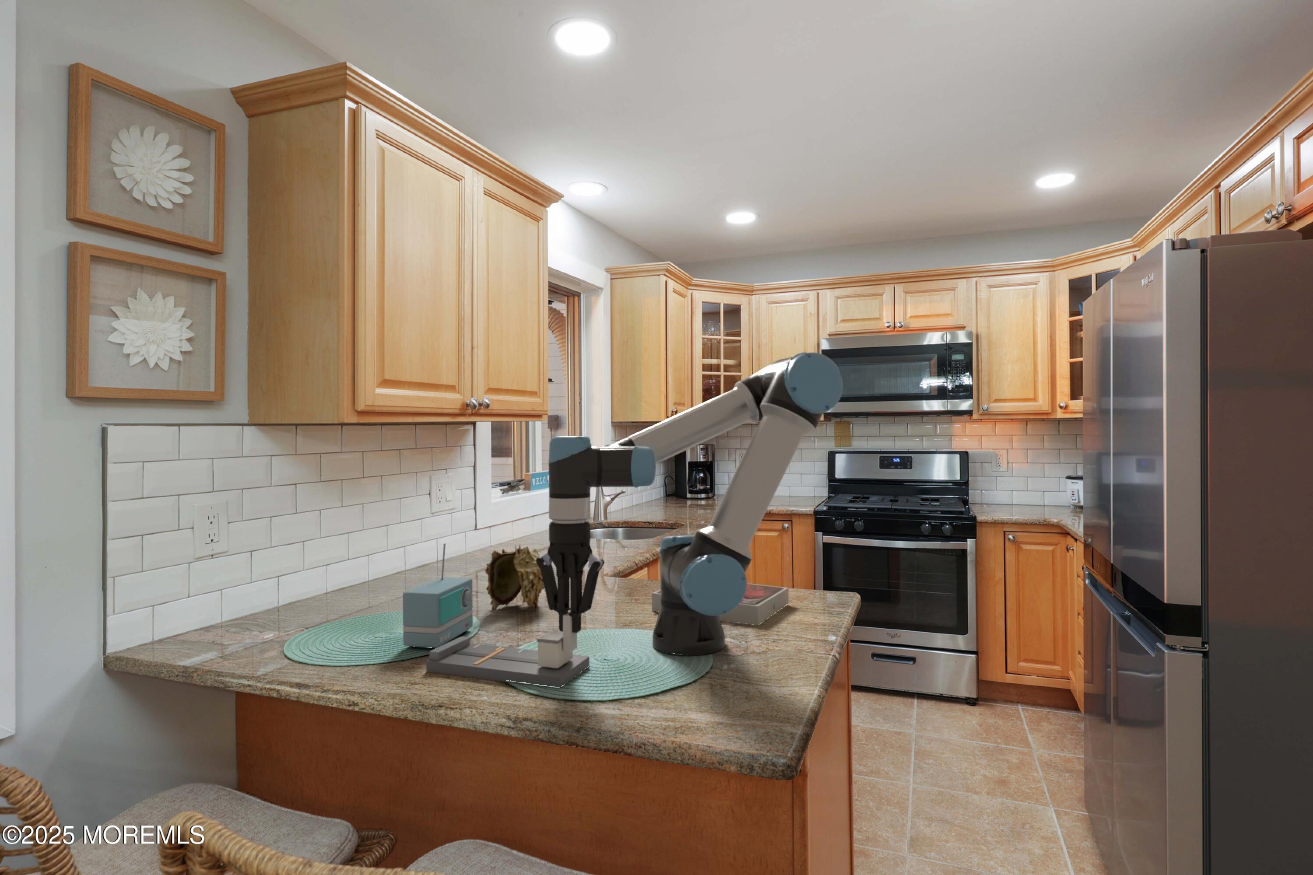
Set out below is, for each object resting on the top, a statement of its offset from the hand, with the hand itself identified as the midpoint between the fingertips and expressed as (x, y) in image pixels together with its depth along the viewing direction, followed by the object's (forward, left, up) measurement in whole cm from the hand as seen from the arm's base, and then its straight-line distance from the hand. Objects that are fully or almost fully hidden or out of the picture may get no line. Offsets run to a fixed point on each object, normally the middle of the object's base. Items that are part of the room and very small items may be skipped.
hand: (570, 649), depth 126 cm
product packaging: (-14, -57, -6) cm, 59 cm away
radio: (+37, -12, -5) cm, 39 cm away
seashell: (+35, -40, -5) cm, 54 cm away
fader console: (+13, 0, -5) cm, 14 cm away
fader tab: (+3, 0, -3) cm, 4 cm away
